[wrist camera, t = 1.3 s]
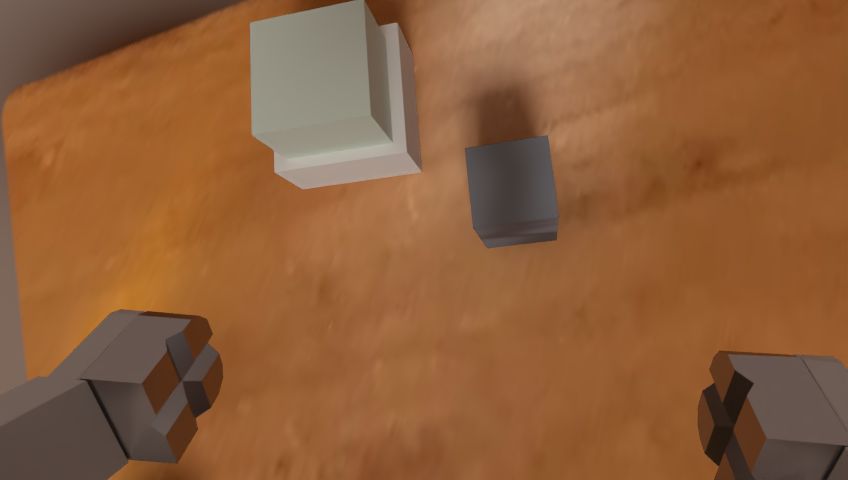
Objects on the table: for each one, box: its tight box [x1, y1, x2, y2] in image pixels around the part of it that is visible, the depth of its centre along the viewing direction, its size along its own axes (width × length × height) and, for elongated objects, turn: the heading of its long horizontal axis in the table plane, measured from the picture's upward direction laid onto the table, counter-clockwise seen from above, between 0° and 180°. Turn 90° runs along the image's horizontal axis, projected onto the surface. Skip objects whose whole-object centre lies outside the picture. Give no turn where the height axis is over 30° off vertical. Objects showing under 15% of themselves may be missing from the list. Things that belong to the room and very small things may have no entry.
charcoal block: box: [465, 135, 559, 248], centre depth 36 cm, size 5×5×8 cm
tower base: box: [274, 22, 422, 189], centre depth 42 cm, size 10×10×5 cm
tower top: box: [250, 0, 393, 160], centre depth 37 cm, size 8×8×5 cm
